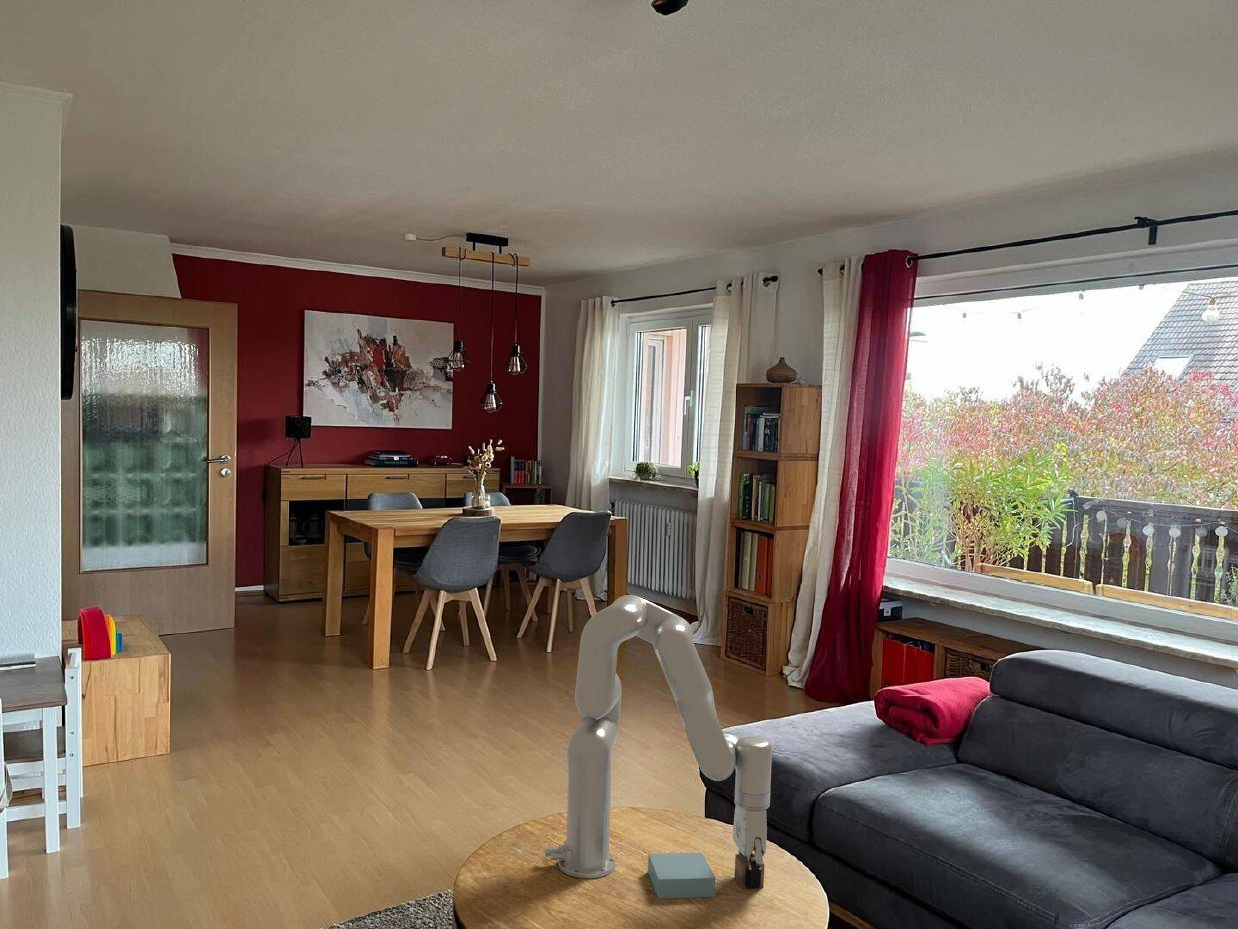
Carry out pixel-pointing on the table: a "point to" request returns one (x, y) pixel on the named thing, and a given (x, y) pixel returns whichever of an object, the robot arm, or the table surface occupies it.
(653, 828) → the table surface
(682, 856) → the plinth block
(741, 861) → the walnut cube
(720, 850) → the table surface
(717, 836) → the table surface
